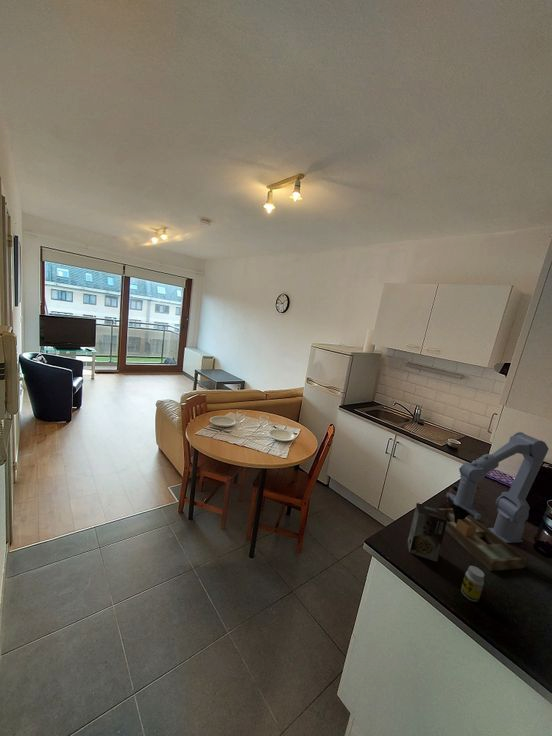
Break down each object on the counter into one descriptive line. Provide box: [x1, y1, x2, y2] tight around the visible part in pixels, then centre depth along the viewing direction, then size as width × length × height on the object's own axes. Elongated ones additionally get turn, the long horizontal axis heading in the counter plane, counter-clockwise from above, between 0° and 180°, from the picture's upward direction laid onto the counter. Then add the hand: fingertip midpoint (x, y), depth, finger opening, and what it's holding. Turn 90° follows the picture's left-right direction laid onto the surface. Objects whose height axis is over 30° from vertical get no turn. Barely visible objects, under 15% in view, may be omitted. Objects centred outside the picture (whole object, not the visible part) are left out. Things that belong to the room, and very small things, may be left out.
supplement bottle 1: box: [445, 483, 459, 508], centre depth 134 cm, size 6×6×11 cm
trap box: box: [437, 507, 528, 572], centre depth 114 cm, size 16×28×4 cm, turn 14°
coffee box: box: [407, 502, 448, 563], centre depth 102 cm, size 9×6×16 cm
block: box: [456, 519, 477, 536], centre depth 113 cm, size 4×4×4 cm
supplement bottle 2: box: [460, 565, 485, 602], centre depth 87 cm, size 5×5×8 cm
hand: (457, 523), depth 117 cm, fingers closed
